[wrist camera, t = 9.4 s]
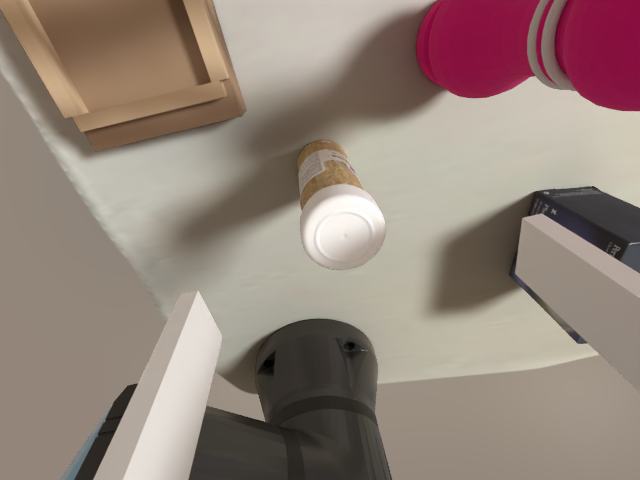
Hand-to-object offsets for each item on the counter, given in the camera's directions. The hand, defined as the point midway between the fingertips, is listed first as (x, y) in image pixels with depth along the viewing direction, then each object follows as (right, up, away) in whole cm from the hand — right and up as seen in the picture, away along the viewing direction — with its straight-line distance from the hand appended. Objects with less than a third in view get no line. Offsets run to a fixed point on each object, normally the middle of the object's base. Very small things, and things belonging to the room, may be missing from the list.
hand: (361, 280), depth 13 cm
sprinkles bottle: (-2, +8, +15) cm, 18 cm away
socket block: (-14, +16, +9) cm, 24 cm away
